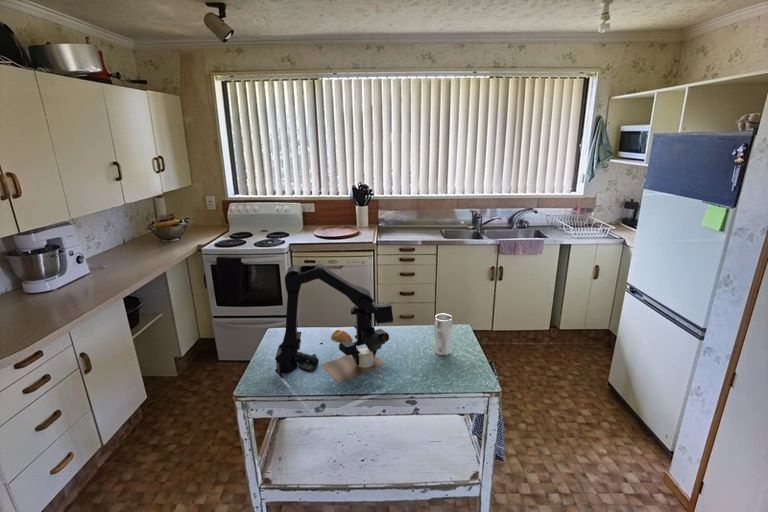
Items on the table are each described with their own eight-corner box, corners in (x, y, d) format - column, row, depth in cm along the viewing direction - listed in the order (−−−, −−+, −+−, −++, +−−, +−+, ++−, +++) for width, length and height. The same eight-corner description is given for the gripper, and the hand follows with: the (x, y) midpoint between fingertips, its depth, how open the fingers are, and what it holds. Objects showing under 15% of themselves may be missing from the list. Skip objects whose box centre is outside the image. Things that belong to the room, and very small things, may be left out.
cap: (359, 368, 141) (359, 357, 140) (355, 360, 147) (354, 349, 146) (375, 365, 143) (374, 355, 142) (370, 357, 149) (370, 347, 147)
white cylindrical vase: (454, 354, 153) (456, 319, 148) (438, 357, 150) (440, 322, 146) (445, 345, 159) (446, 312, 155) (430, 349, 156) (431, 315, 152)
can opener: (324, 368, 145) (323, 354, 143) (310, 376, 139) (309, 363, 138) (291, 353, 155) (290, 341, 153) (277, 361, 149) (276, 348, 148)
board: (339, 386, 134) (339, 382, 133) (320, 367, 144) (320, 364, 144) (386, 366, 145) (386, 363, 145) (365, 350, 156) (365, 348, 155)
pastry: (356, 341, 163) (356, 333, 162) (345, 348, 158) (344, 339, 157) (340, 335, 169) (340, 327, 168) (329, 341, 164) (328, 333, 163)
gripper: (354, 340, 129) (355, 381, 133) (398, 324, 140) (398, 363, 144) (337, 327, 138) (339, 366, 142) (380, 314, 148) (380, 350, 153)
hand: (365, 361), depth 145 cm, fingers closed on cap, 6 cm apart
